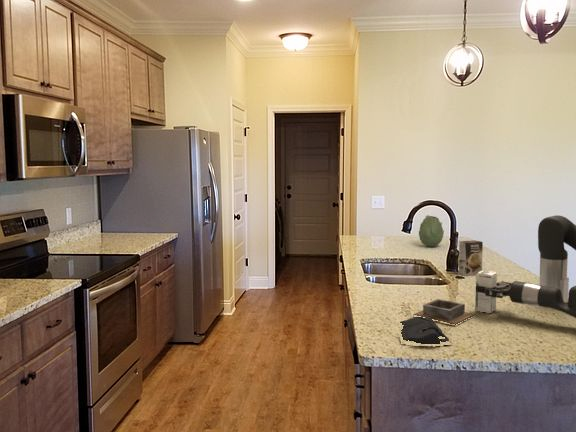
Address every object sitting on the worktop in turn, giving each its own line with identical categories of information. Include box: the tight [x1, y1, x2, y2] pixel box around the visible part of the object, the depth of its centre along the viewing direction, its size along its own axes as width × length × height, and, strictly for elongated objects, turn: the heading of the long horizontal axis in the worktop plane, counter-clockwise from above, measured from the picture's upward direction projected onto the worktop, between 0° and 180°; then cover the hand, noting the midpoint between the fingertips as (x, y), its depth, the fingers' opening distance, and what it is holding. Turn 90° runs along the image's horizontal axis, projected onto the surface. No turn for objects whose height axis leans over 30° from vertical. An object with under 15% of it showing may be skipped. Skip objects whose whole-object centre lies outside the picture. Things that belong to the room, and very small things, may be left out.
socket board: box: [413, 298, 476, 325], centre depth 175 cm, size 16×14×4 cm
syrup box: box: [474, 270, 498, 314], centre depth 180 cm, size 6×6×14 cm
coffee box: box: [458, 239, 483, 277], centre depth 238 cm, size 9×6×16 cm
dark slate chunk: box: [399, 316, 450, 344], centre depth 158 cm, size 15×22×5 cm
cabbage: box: [418, 215, 445, 248], centre depth 316 cm, size 16×19×20 cm
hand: (481, 286), depth 181 cm, fingers open, 8 cm apart
